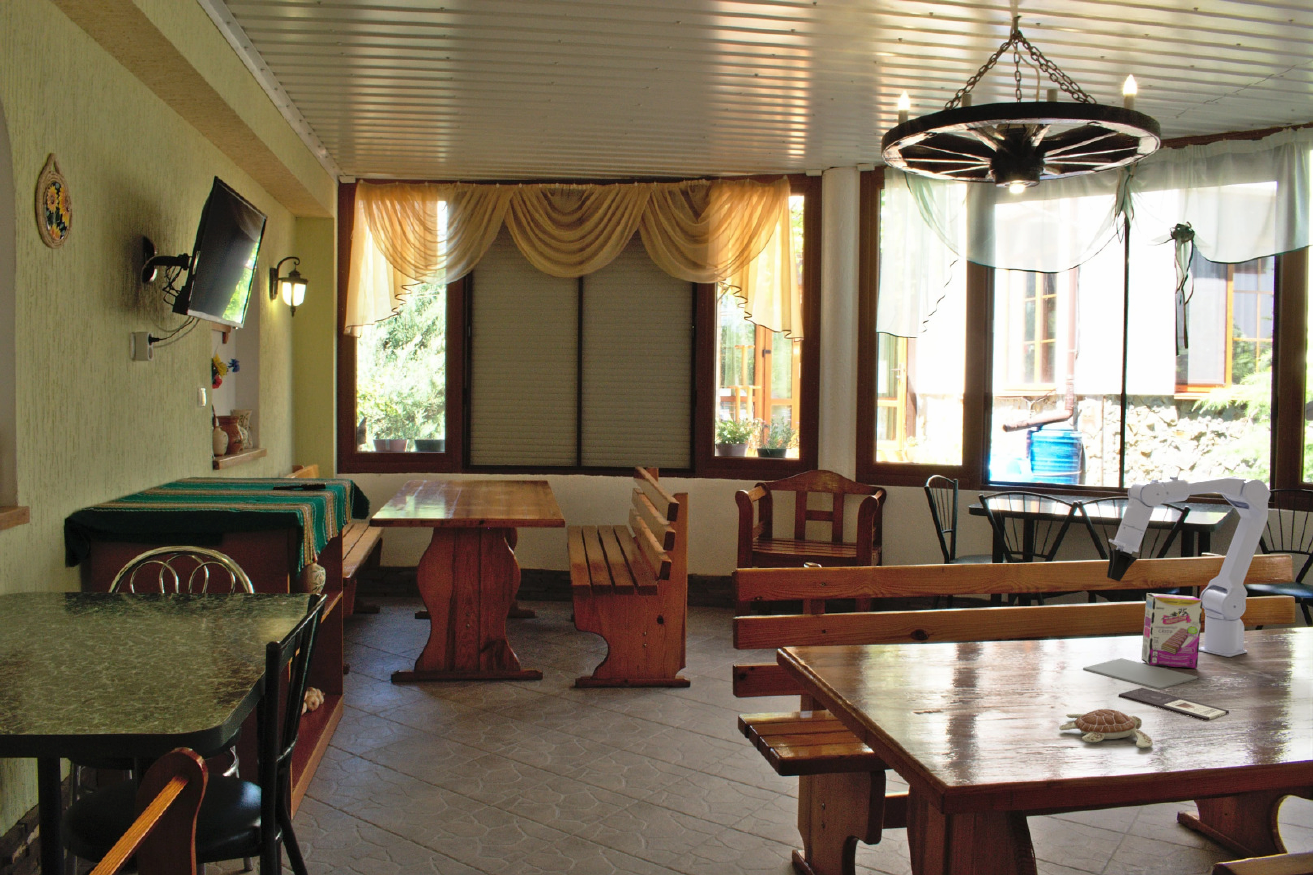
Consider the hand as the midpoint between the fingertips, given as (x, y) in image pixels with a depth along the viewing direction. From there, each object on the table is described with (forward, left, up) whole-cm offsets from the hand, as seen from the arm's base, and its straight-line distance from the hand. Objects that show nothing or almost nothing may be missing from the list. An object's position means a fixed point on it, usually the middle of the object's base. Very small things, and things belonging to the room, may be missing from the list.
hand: (1113, 579), depth 242 cm
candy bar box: (0, +15, -18) cm, 23 cm away
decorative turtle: (+58, +34, -19) cm, 69 cm away
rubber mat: (+13, +15, -18) cm, 27 cm away
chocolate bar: (+29, +31, -19) cm, 46 cm away
